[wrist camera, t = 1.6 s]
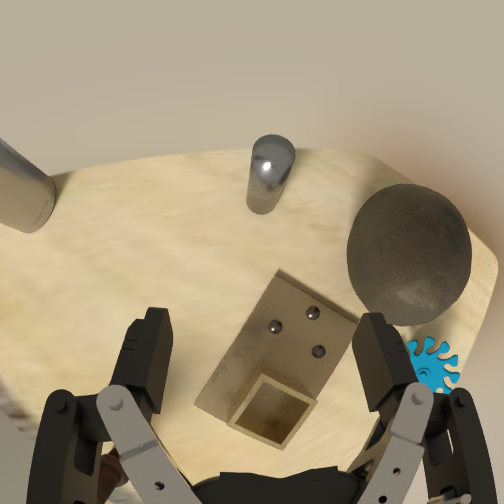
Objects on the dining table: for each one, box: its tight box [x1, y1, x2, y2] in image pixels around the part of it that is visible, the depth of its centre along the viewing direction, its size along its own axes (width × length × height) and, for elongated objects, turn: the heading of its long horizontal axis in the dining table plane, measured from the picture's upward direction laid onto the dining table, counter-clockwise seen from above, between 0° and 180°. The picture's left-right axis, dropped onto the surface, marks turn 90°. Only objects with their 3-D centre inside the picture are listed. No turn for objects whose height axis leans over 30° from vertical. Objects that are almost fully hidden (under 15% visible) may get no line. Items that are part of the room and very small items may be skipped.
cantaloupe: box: [347, 184, 472, 326], centre depth 27 cm, size 14×14×15 cm
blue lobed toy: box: [407, 336, 460, 394], centre depth 30 cm, size 11×6×10 cm
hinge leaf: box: [194, 275, 358, 451], centre depth 29 cm, size 12×18×5 cm, turn 149°
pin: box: [246, 135, 296, 214], centre depth 29 cm, size 4×4×12 cm
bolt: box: [96, 448, 129, 504], centre depth 20 cm, size 6×5×15 cm
